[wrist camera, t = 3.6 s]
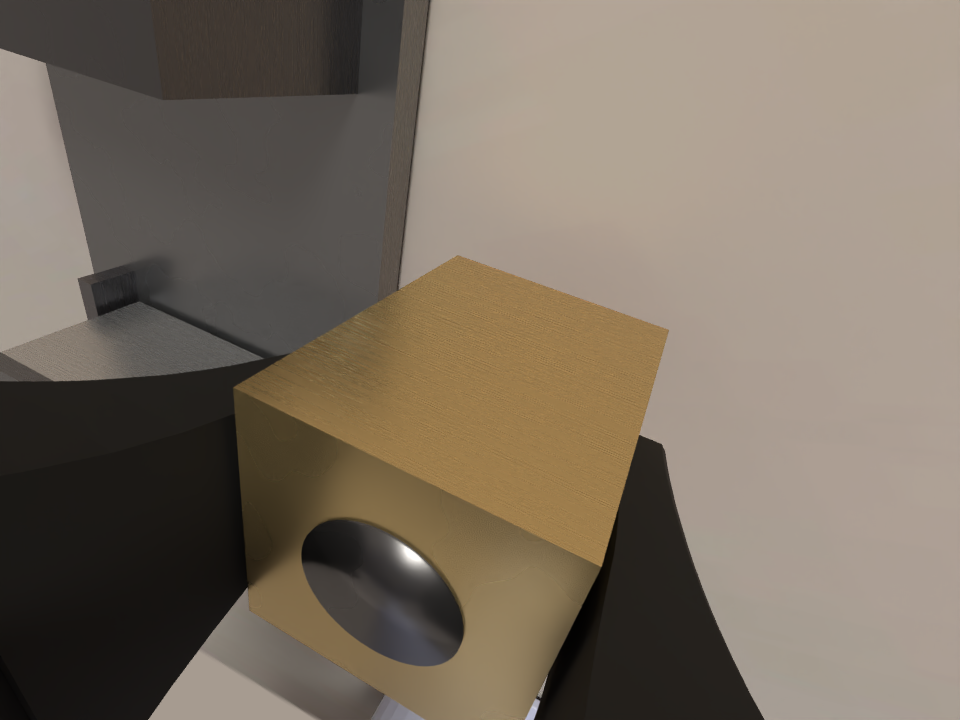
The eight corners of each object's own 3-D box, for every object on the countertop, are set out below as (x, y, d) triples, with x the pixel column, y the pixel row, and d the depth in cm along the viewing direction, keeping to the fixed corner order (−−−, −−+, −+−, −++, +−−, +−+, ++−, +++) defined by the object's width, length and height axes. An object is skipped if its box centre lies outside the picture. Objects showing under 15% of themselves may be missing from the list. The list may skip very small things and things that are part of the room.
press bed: (370, 526, 21) (258, 661, 16) (149, 409, 24) (-2, 493, 19) (444, -150, 10) (172, -365, 5) (26, -205, 13) (-391, -374, 8)
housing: (595, 495, 12) (500, 771, 7) (428, 419, 13) (247, 613, 8) (668, 330, 10) (600, 570, 5) (457, 255, 11) (228, 389, 6)
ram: (299, 464, 19) (185, 563, 15) (156, 390, 21) (20, 462, 17) (299, 374, 17) (166, 463, 13) (139, 301, 18) (-20, 359, 15)
